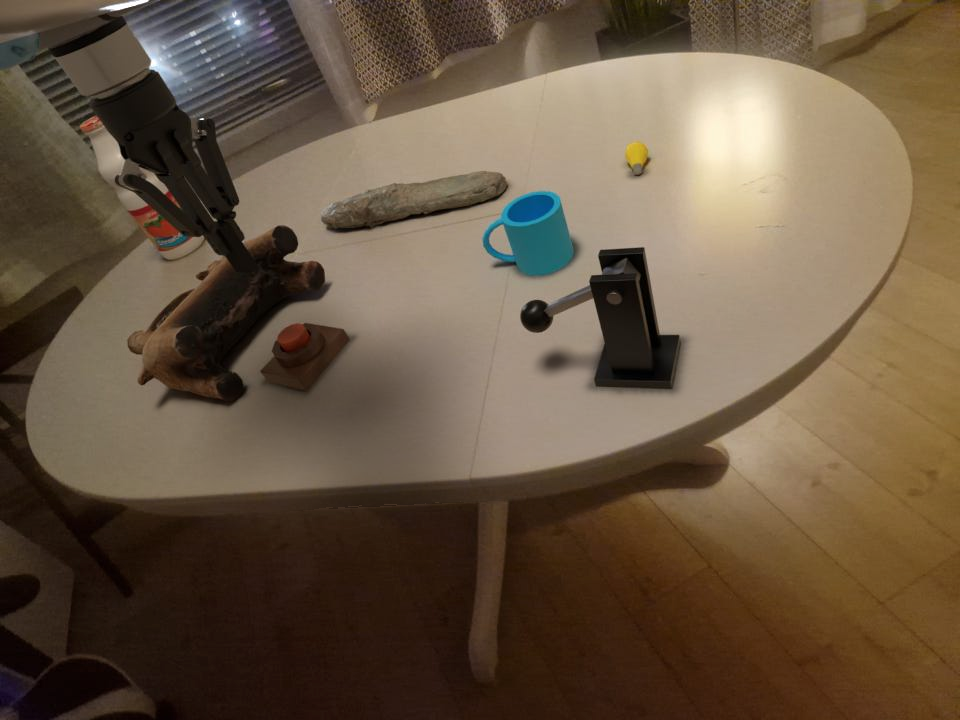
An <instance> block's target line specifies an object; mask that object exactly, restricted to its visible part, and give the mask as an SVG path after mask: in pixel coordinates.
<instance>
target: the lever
mask: <svg viewBox="0 0 960 720" xmlns="http://www.w3.org/2000/svg"><path fill="white" fill-rule="evenodd" d="M631 273H637V275H638V280H640V276H641V274H640V273H639V272H638V271H637V269H636V268H635V267H634V266H633V265H632V263H631V262H630V261H629V260H628V258H625V259H623V260H621V261H619V262H617V263H615V264H613V265H611V266H608V267H606V268H604V269H603V272H602V271H601V275H607V274H631ZM590 300H594V299H593V295H592V291H591V287H590V284H589V285H586V286H585V287H583V288H580V289H578V290H576V291H574V292H572V293H569V294H567V295H565V296H563V297H560V298H559V299H556V300H554V301H552V302H550V303H547V302H546V301H544V300H542V299H532V300H529V301H528V302H526V303H525V304H524V305H523V307H522V308H521V311H520V314H519V318H520V322H521V325H522V327H523V328H524V329H525V330H527V331H528V332H530V333H532V334H533V333H534V334H538V333H543V332H545V331H547V330H548V329H549V328H550V327H551V326H552V324H553V321H554V316H556V315H558V314H561V313H563V312H565V311H568V310H571V309H572V308H574V307H577V306H579V305H582V304H583V303H586V302H588V301H590Z"/></svg>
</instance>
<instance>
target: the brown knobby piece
mask: <svg viewBox="0 0 960 720" xmlns="http://www.w3.org/2000/svg"><path fill="white" fill-rule="evenodd" d="M242 243H243V244H244V246H245V247H246V249H247V250H248V252H249V253H250V255H251V256H252V258H253V259H254V261H255V262H256V264H257V265H258V266H257V267H256V268H255V269H254V270H253V271H252V272H251V273H241V272H236V271H235V270H234V268H233V267H232V265H231V264H230V262H229V261H228V260H227V258H226V257H225V256H222V255H221V258H220V259H218V260H213V261H212V262H211V263H209V265H208V266H207V268H206V269H205V270H202V271H200V272H198V273H197V274H196V275H195V278H196V279H197V280H199V281H201V282H200V283H199V284H198V285H197V286H196V287H195V288H192V289H189V290H186V291H184V292H182V293H179V294H178V295H177V296H175V298H173V299H172V300H171V301H170V302H169V303H168V304H167V305H166V306H164V308H163V309H161V311H160V312H159V313H157V314H156V316H155V317H154V318H153V320H152V321H151V323H150V324H149V325H148V327H147V328H146V329H145V330H136V331H134V332H133V333H131V334H130V335H129V337H128V338H127V339H126V341H127V343H126V344H127V348H128V350H129V352H131V353H132V354H135V355H140V356H141V355H142V356H141V358H142V364H143V366H142V369H141V371H140V373H139V375H138V377H137V383H138V385H140V386H142V387H143V386H145V385H146V384H147V383H148V382H150V381H151V380H153V379H155V380H157V381H159V382H160V383H162V384H163V385H164V386H166V387H167V388H169V389H172V390H173V389H174V390H177V391H183V392H190V393H192V394H195V395H198V396H203V397H205V398H206V397H207V398H212V399H220V400H223V401H225V402H232V401H235V400H236V399H237V398H239V397H240V396H241V395H242V393H243V391H244V390H245V386H244V381H243V379H242V377H241V376H240V375H239V373H237V372H235V371H232V370H231V371H230V370H227V369H225V368H224V367H222V366H221V364H220V363H221V361H222V360H223V358H224V357H225V356H226V355H227V354H228V352H230V350H231V349H232V348H233V346H234V345H236V343H237V342H238V341H239V340H240V339H241V338H242V337H243V336H244V335H245V334H246V333H247V332H248V331H249V330H250V328H251V327H252V326H253V325H254V323H255V322H256V321H258V320H259V318H260V317H262V316H263V315H264V314H265V313H266V312H267V311H269V309H271V308H272V307H273V306H275V304H278V302H280V301H281V300H283V299H285V298H287V297H289V296H292V295H293V296H294V295H298V294H302V293H304V292H307V291H313V292H314V291H315V292H316V291H320V290H321V289H322V287H323V286H324V284H325V283H326V272H325V268H324V267H323V265H322V264H321V263H320V262H319V261H317V260H316V261H315V260H307V261H302V262H297V261H291V260H286V259H285V257H286V256H288V255H290V254H294V253H295V252H296V251H297V250H298V247H299V240H298V236H297V235H296V232H295V231H294V230H293V229H292V228H290V227H289V226H287V225H284V224H280V225H279V224H278V225H276V226H275V227H273V228H271V229H269V230H268V231H266V232H264V233H261V234H260V235H258V236H256V237H253V238H250V239H248V240H246V241H244V242H242Z"/></svg>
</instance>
